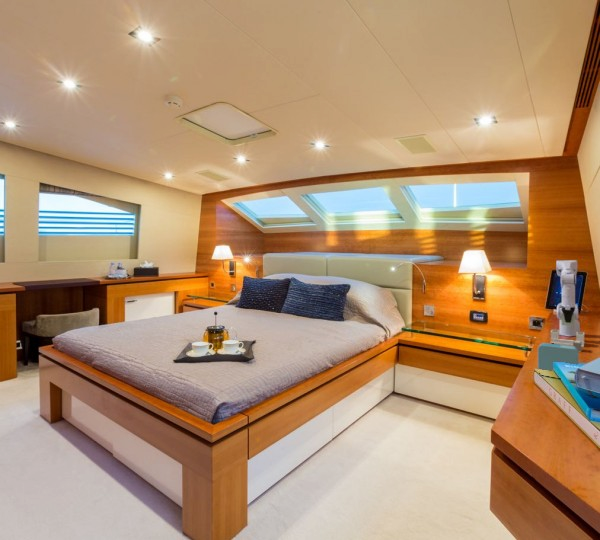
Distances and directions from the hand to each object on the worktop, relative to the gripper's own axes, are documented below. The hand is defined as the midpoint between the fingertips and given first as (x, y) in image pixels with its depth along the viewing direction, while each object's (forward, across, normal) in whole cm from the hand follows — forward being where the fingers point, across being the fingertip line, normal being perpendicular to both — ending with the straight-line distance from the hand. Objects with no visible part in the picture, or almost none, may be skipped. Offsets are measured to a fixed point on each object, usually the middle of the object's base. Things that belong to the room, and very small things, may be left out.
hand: (568, 321), depth 190 cm
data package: (+10, +74, -1) cm, 74 cm away
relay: (+10, +23, +4) cm, 25 cm away
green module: (+2, 0, 0) cm, 2 cm away
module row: (+10, +8, 0) cm, 13 cm away
